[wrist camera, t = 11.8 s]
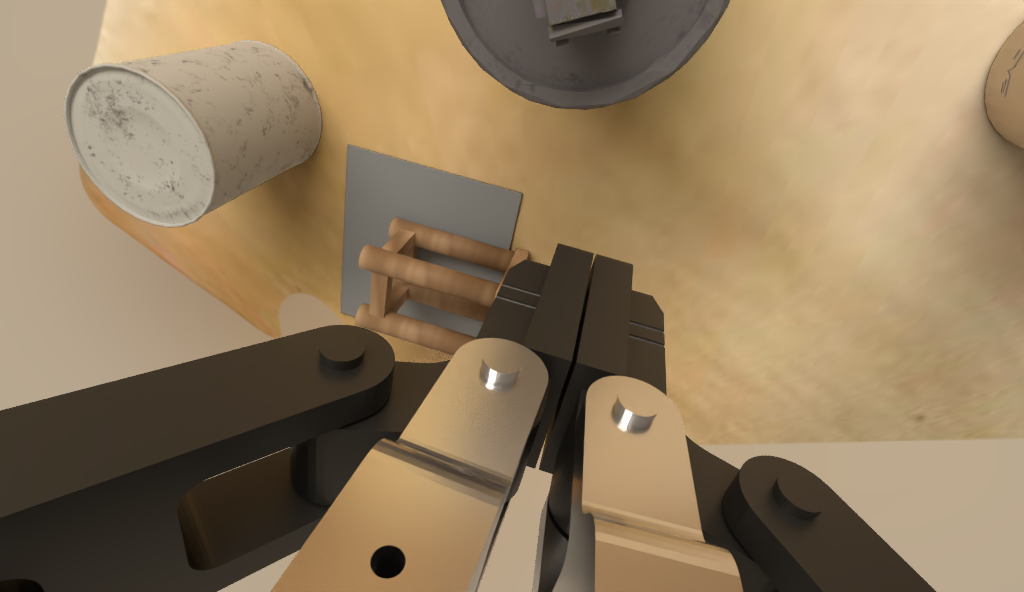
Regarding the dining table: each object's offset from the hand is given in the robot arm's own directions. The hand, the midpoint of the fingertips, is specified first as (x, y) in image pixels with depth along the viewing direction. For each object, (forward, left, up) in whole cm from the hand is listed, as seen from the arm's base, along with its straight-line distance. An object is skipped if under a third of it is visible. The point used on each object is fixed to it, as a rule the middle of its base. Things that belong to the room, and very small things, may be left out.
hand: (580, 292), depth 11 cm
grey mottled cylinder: (+26, +9, -29) cm, 40 cm away
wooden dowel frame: (+3, +18, -25) cm, 31 cm away
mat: (+12, +18, -29) cm, 36 cm away
